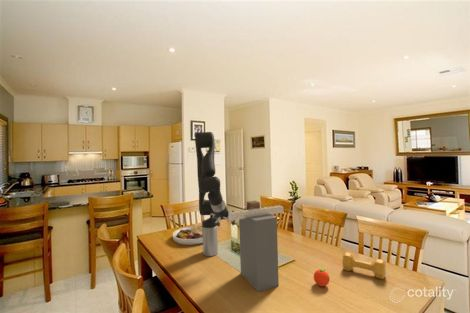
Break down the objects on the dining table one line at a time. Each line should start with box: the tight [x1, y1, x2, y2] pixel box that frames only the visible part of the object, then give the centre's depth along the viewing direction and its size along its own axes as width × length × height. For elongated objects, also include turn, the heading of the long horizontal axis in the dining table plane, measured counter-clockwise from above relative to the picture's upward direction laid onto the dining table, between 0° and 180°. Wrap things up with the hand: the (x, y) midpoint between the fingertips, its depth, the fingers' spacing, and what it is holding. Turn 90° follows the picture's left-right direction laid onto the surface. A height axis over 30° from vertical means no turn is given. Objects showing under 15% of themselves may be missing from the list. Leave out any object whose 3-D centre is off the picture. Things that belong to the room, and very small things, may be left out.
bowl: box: [172, 225, 203, 246], centre depth 177 cm, size 30×30×8 cm
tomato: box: [313, 268, 331, 287], centre depth 112 cm, size 8×7×7 cm
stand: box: [238, 214, 280, 293], centre depth 118 cm, size 18×11×32 cm, turn 23°
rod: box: [228, 204, 284, 222], centre depth 115 cm, size 3×28×3 cm, turn 113°
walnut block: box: [246, 200, 261, 210], centre depth 123 cm, size 5×5×5 cm
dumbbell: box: [341, 251, 387, 280], centre depth 121 cm, size 19×9×8 cm, turn 53°
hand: (226, 224), depth 140 cm, fingers open, 8 cm apart
